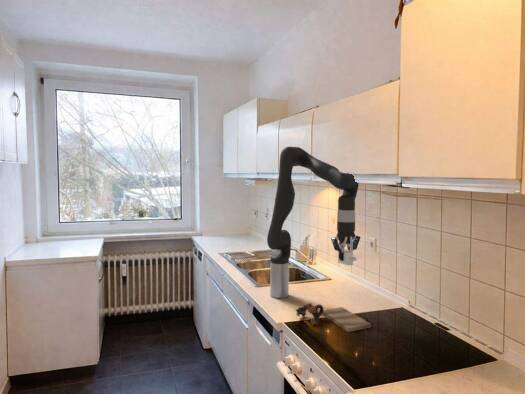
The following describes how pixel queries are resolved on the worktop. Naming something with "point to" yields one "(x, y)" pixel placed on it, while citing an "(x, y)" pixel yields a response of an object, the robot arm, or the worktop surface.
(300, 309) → the brown irregular piece
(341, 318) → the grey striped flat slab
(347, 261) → the plug
